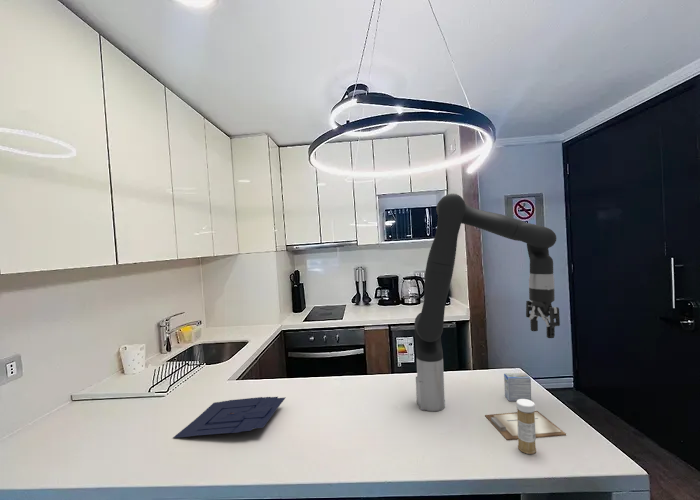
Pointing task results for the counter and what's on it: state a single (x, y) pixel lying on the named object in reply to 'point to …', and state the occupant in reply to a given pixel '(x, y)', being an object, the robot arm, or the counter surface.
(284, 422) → the counter surface
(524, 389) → the medicine box
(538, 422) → the clipboard
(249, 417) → the navy blue folded cloth
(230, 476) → the counter surface
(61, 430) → the counter surface
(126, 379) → the counter surface
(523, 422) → the sprinkles bottle
